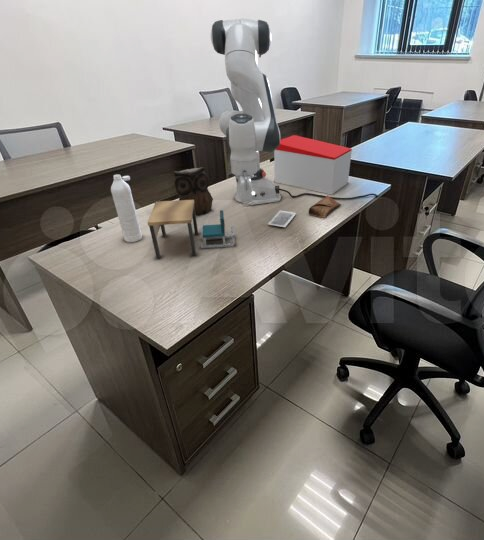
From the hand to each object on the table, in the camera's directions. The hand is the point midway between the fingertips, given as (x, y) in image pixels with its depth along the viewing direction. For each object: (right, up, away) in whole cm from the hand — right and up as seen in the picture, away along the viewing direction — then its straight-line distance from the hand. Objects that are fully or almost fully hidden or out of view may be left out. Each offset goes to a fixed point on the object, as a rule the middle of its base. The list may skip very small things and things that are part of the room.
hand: (245, 205), depth 124 cm
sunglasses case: (+33, +4, +33) cm, 47 cm away
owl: (-25, +3, +32) cm, 41 cm away
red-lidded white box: (+29, +25, +64) cm, 75 cm away
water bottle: (-44, -12, +9) cm, 46 cm away
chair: (-12, -13, +7) cm, 19 cm away
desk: (-26, -14, +5) cm, 30 cm away
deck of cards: (+14, -2, +23) cm, 27 cm away
